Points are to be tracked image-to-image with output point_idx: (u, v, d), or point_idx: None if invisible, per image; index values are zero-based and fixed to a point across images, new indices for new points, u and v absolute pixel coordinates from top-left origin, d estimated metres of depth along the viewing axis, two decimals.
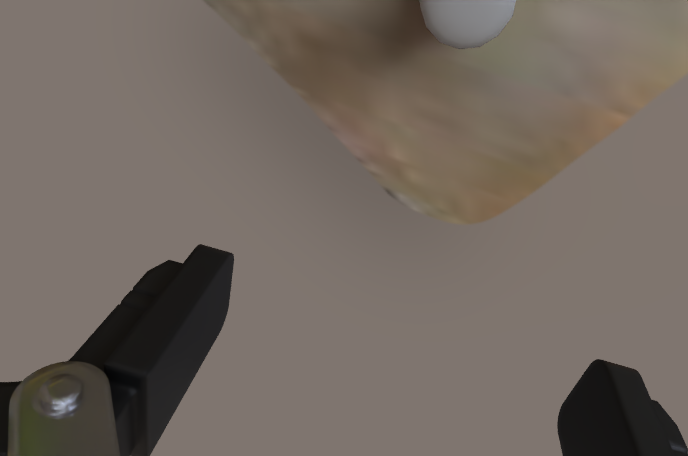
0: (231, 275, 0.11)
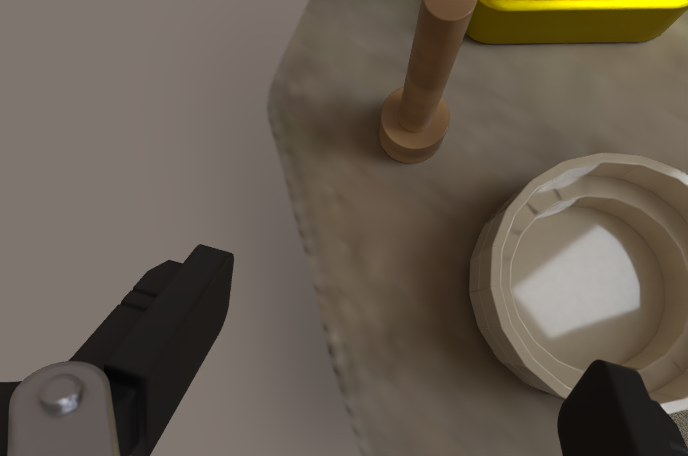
0: (231, 275, 0.11)
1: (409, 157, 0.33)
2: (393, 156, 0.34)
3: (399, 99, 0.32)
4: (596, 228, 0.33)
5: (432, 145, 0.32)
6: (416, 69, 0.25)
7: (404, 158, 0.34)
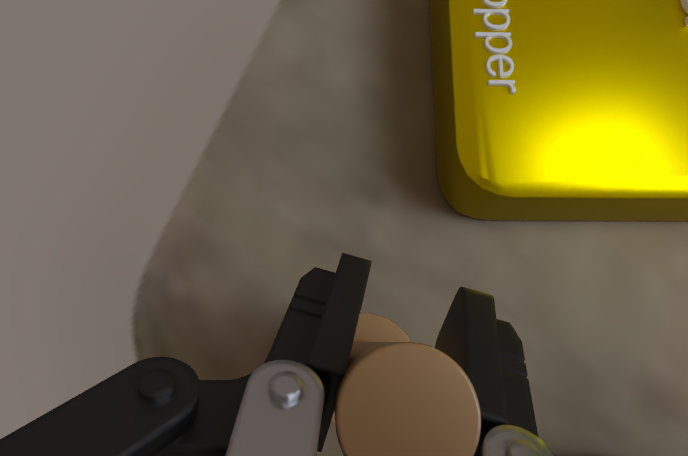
0: None
1: None
2: None
3: None
4: None
5: None
6: None
7: None
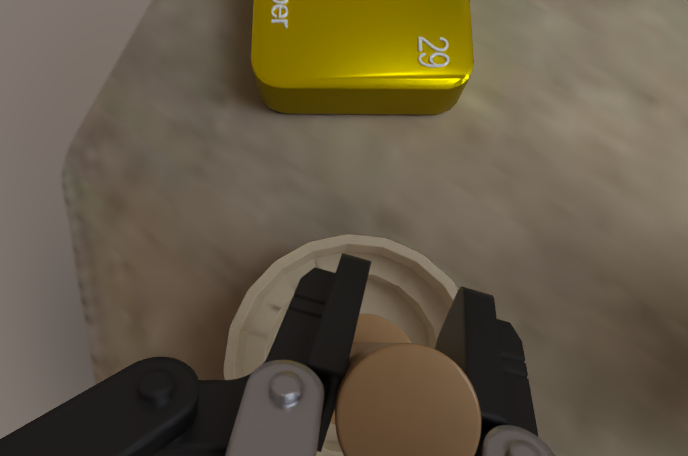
0: None
1: None
2: None
3: None
4: (371, 300, 0.33)
5: None
6: None
7: None
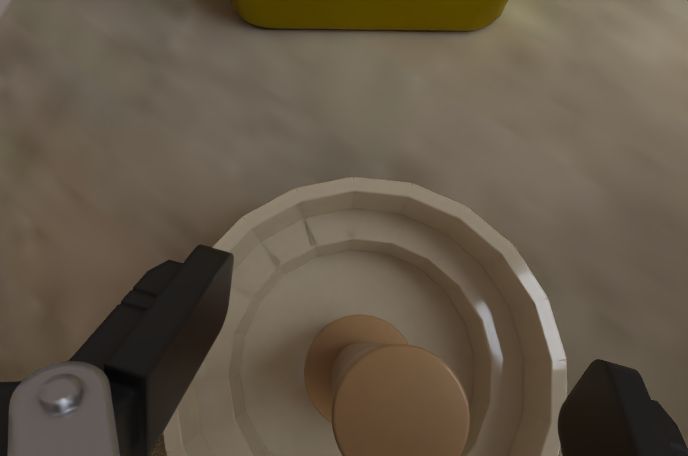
0: (231, 275, 0.11)
1: None
2: None
3: (335, 340, 0.20)
4: (386, 281, 0.23)
5: None
6: None
7: None
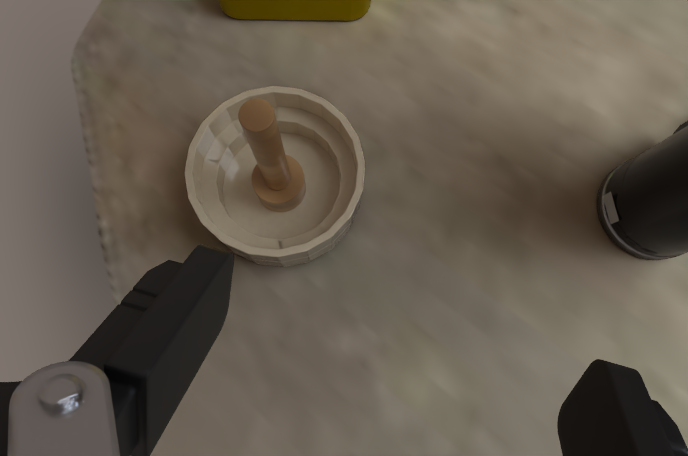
0: (231, 275, 0.11)
1: (275, 208, 0.43)
2: (266, 206, 0.44)
3: None
4: (297, 148, 0.46)
5: (290, 200, 0.42)
6: (253, 153, 0.35)
7: (273, 208, 0.43)
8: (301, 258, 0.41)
